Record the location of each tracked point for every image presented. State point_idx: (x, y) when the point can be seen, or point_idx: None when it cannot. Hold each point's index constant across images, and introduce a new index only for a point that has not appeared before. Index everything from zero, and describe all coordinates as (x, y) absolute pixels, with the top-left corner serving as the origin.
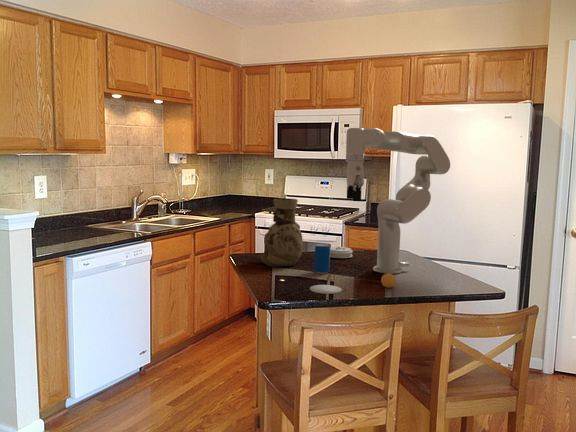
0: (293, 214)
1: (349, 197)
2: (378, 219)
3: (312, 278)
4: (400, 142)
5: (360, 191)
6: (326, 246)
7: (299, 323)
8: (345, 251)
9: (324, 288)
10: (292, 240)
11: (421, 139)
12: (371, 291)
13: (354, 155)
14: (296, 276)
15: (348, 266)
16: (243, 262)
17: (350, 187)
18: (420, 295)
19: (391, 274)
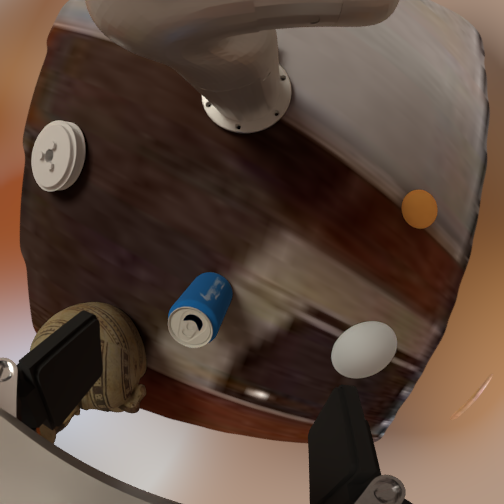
0: None
1: (97, 365)
2: (179, 66)
3: (266, 339)
4: None
5: (370, 474)
6: (212, 326)
7: (457, 417)
8: (71, 149)
9: (361, 353)
10: (127, 377)
11: None
12: (421, 266)
13: None
14: (236, 361)
15: (161, 180)
16: None
17: (24, 417)
18: (476, 182)
19: (433, 206)
